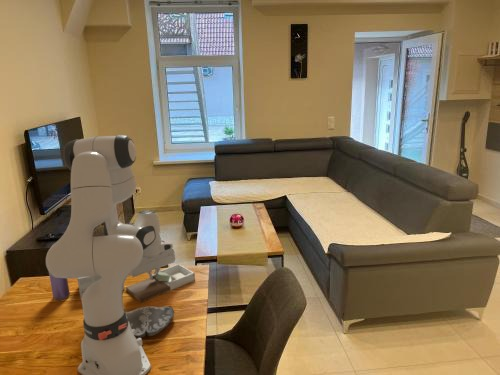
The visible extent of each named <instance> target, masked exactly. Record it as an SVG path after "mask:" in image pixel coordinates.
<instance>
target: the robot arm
mask: <svg viewBox="0 0 500 375" xmlns="http://www.w3.org/2000/svg"><path fill="white" fill-rule="evenodd" d="M62 159H63V162H64V164H65V167H67V169H68V170H69V171H70V197H71V198H70V200H71V204H70V205H71V208H70V210H71V211H70V220H69V224H68V225H67V227H66V230H65V231H64V233H63V234H62V235H61V237H60V238H59V239H58V240H57V241H56V242H54V243H53V244H52V246H51V247H50V248H48V251H47V253H46V256H45V266H46V269H47V272H48V273H49V272H50V274H51V275H52V276H54V277H55V278H67V279H78V278H81V277H88V276H96V275H97V276H101V279H100V280H99V281H97V282H95V283H94V284H92V285H91V286H89V287H88V288H87V289H86V290H85V292H84V293H83V295H82V299H81V306H82V311H83V312H82V313H83V325H82V326H83V327H82V328H83V330H84V336H83V339H82V340H81V343H80V348H81V349H80V350H81V357H82V358H81V359H82V362H81V363H80V364H79V365H78V367H77V371H78V373H79V374H81V375H146V374H147V373H149V372H150V370H151V368H152V365H151V362H150V361H149V360H150V359H149V358H148V356H147V355H146V352H145V351H144V348H143V346H142V345H143V339H142V337H135V336H134V334H135V333H136V332H135V329H131V327H130V324H129V322H128V320H127V315H126V312H127V311H126V310H125V308H124V301H123V300H124V296H123V291H124V290H123V285H124V286H125V282H126V280H127V278H128V277H129V276H130V277H133V278H135V277H138V276H141V275H143V274H146V273H147V275H148V276H149V278H150V279H151V280H153V279H156V278H158V273H159V271H161V270H160V269H161V268H162V267H165V266H168V265H171V264H174V263H175V261H176V254H175V253H176V252H175V250H174V246H173V243H172V242H170V241H168V240H165V239H162V238H161V236H160V233H161V225H160V220H159V215H158V213H157V212H156V211H154V210H141V211H138V212H137V216H136V220H135V221H134V223H133V224H128V223H127V224H126V223H123V222H121V221H120V220H119V215H118V208H117V205H118V204H120V203H124V202H125V201H127V200H128V199H130V197H132V195H134V193H135V191H136V189H137V182H136V177H135V175H134V174H135V173H134V171H133V168H132V165H133V164H134V163H135V161H136V159H137V149H136V144H134V141H133V140H132V138H130V137H129V136H128V135H125V134H123V135H122V134H117V135H103V136H101V135H100V136H98V135H97V136H90V137H85V138H81V139H79V138H77V139H73V140H70V141H68V142H67V143H66V144H65V145H64V147H63V150H62ZM102 224H103V235H101V236H100V235H99V236H93V235H94V230H95V228H97V227H99V226H100V225H102ZM152 271H154V273H153V272H152Z"/></svg>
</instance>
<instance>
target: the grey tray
mask: <svg viewBox="0 0 500 375" xmlns="http://www.w3.org/2000/svg"><path fill="white" fill-rule="evenodd" d="M159 272H165V273H166V274H168V275H170V278H169V281H162V282H164V283H165V284H167V285H168V286H170V291H172V290H175V289H178V288H180V287H183V286H185V285H187V284H189V283H192V282H195V280H196V277H195V276H196V275H195V272H194V271H192V270H190V269H189V268H187V267H186V266H183V265H182V264H180V263H177V264H175V265H172V266H169V267H167V268H164V269H161V270H159ZM178 273H182V274H183V275H185V276H183V277H181V278H178V279H176V280H173V281H171V276H173V275H175V274H178Z"/></svg>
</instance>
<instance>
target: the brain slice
mask: <svg viewBox="0 0 500 375" xmlns="http://www.w3.org/2000/svg"><path fill="white" fill-rule="evenodd" d="M125 312H126V315H127V320H128V322H129V324H130V327H131V329H135V332H136V333H135V334H134V336H135V337H136V338H145V337H146V336H149V337H153V336H155V335H157V334H159V333H161V332H162V331H163V330H165V329H166V328H167V326H168V325H169V324H170V323H171V321H172V320H173V318H174V315H175V313H176V312H175V310H174V308H173V307H172V306H168V305H167V306H159V307H158V306H153V305H151V306H149V305H148V306H141V307H138V308H136V309H134V310H131V311H125Z"/></svg>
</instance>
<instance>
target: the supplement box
mask: <svg viewBox="0 0 500 375" xmlns="http://www.w3.org/2000/svg"><path fill="white" fill-rule="evenodd" d="M76 279H77V286H78V289H79V290H78V292H79V297H80V298H79V299H80V300H82V295H83V293H84V292H85V290H86V289H87V288H88V287H89V286H91V285H92V284H94V283H95V282H97V281H99V280H100V279H101V276H97V275H96V276H88V277H81V278H76ZM124 290H125V284H124V285H123V291H124Z"/></svg>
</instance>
